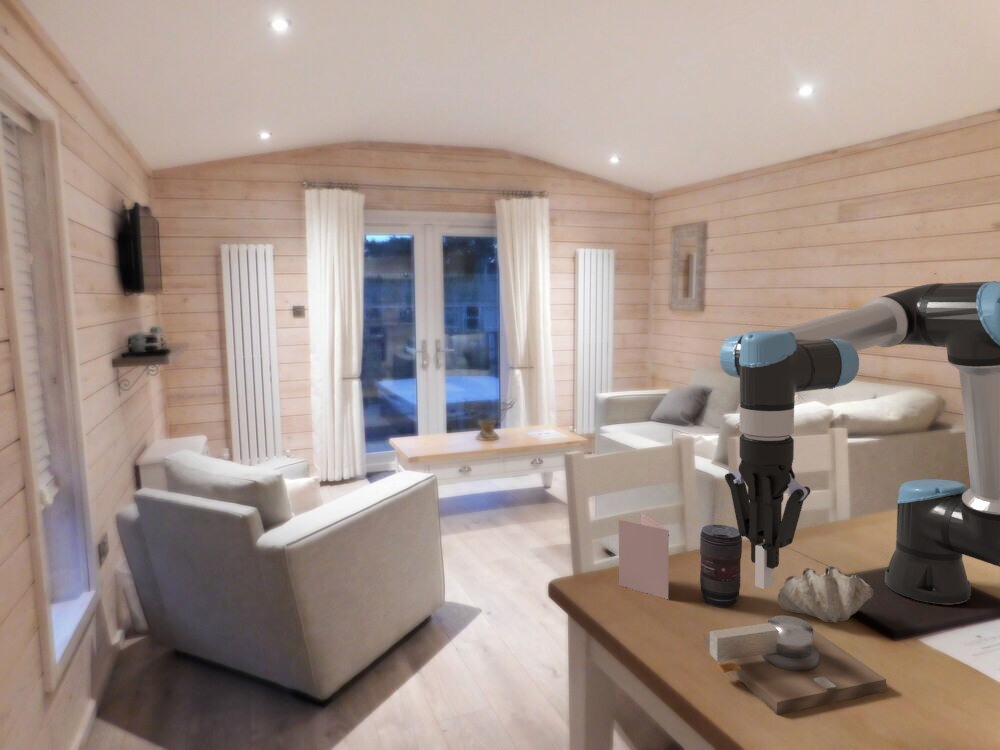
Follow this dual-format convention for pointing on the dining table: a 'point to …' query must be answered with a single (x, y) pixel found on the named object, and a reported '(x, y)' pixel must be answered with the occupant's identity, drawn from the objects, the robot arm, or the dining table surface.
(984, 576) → the dining table surface
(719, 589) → the camera lens
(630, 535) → the greeting card
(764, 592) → the dining table surface
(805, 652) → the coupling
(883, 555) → the dining table surface
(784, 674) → the mount
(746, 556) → the dining table surface
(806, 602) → the seashell
